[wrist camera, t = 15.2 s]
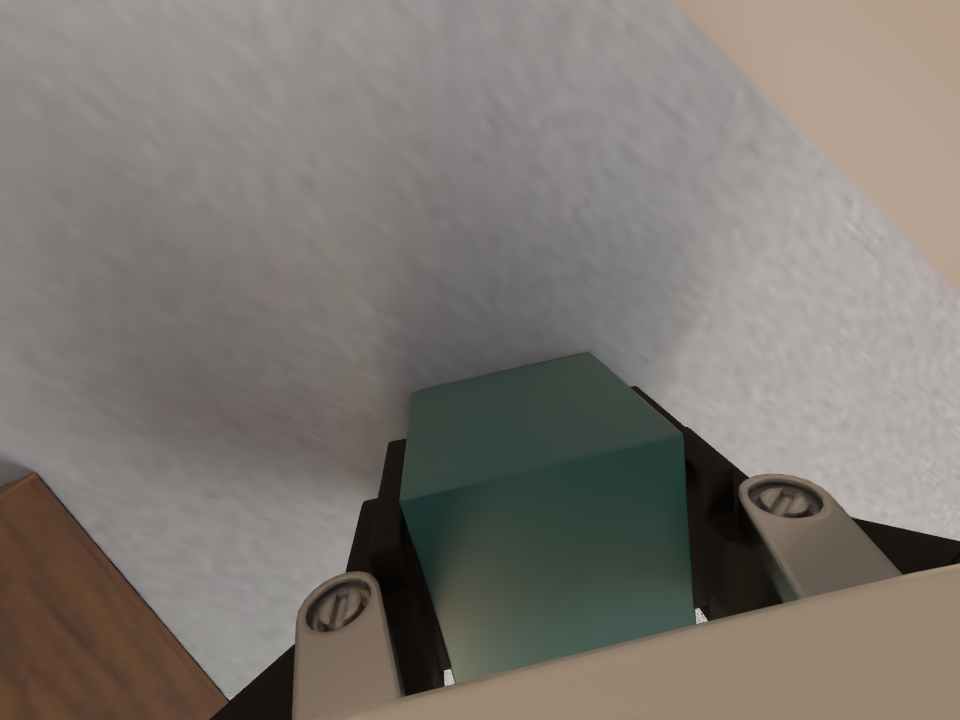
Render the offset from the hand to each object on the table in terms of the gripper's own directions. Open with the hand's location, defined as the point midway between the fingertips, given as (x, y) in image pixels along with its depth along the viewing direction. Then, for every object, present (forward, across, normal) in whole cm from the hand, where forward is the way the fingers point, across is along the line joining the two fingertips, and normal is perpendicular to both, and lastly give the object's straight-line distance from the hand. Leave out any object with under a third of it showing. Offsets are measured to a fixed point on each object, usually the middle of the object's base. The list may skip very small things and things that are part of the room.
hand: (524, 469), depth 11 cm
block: (+1, 0, 0) cm, 1 cm away
